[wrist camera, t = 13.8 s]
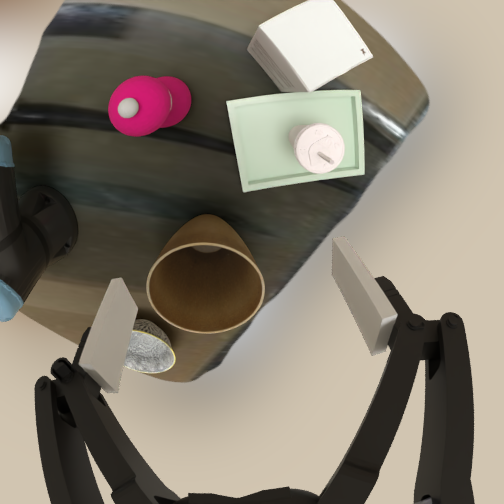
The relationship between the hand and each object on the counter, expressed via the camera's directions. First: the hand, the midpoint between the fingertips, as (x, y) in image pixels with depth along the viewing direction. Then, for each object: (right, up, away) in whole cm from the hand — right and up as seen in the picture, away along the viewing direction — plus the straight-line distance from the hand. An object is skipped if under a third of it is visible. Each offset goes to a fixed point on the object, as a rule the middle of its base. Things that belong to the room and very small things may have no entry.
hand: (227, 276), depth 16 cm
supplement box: (+7, +30, +16) cm, 35 cm away
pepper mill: (-10, +24, +18) cm, 31 cm away
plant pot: (-6, +5, +31) cm, 32 cm away
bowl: (-23, -16, +42) cm, 51 cm away
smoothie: (+9, +19, +22) cm, 31 cm away
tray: (+9, +19, +23) cm, 31 cm away
